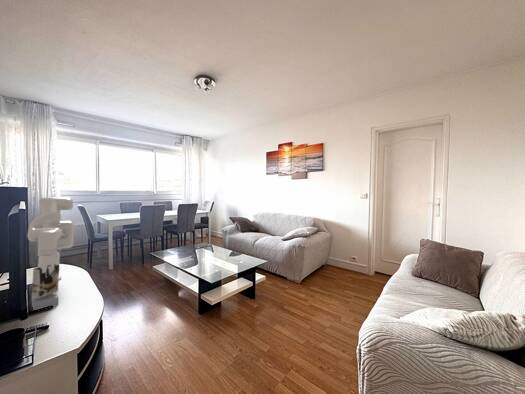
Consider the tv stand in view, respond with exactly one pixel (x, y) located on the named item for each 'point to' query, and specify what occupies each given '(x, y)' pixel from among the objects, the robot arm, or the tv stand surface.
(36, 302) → the base block
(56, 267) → the coffee box
